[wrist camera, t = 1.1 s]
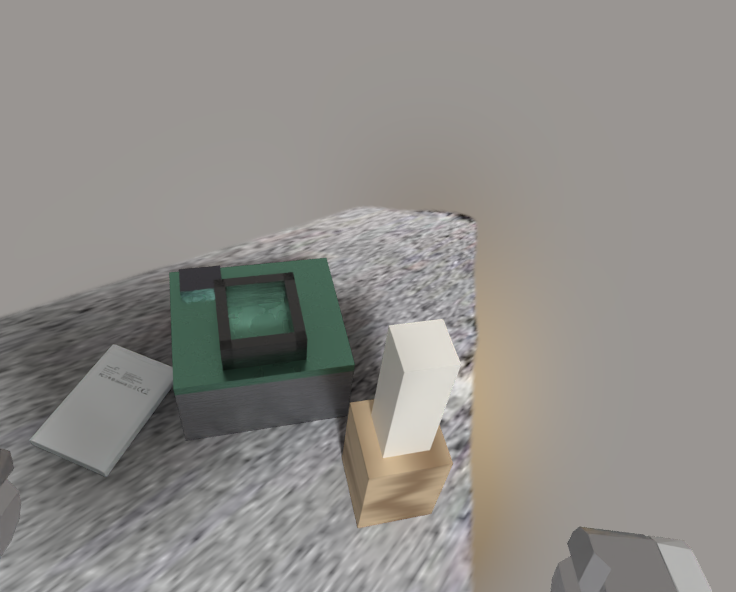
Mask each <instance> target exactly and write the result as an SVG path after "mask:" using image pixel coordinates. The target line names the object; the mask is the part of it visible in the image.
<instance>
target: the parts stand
mask: <svg viewBox="0 0 736 592" xmlns="http://www.w3.org/2000/svg"><path fill="white" fill-rule="evenodd" d="M373 404H374V399H372V400H365V401H358V402H352V403H350V407H349V413H348V420H347V427H346V434H345V441H344V448H343V454H342V460H343V465H344V469H345V474H346V478H347V483H348V487H349V491H350V496H351V500H352V505H353V509H354V514H355V518H356V523H357V527H358V528H362V527H367V526H372V525H377V524H382V523H387V522H392V521H397V520H402V519H407V518H412V517H417V516H422V515H427V514H431V513H432V511H433V508H434V506H435V504H436V501H437V499H438V497H439V495H440V492H441V490H442V488H443V485H444V483H445V481H446V478H447V476H448V474H449V472H450V469H451V467H452V465H453V462H452V460H451V457H450V454H449V451H448V448H447V445H446V442H445V439H444V437H443V434H442V431H441V428H440V425H439V426H438V429H437V432H436V435H435V437H434V440H433V443H432V446H431V448H430V450H427V451H422V452H416V453H410V454H404V455H398V456H393V457H387V458H383V457H382V453H381V450H380V446H379V442H378V439H377V435H376V431H375V428H374V424H373V420H372V416H371V414H372V409H373Z"/></svg>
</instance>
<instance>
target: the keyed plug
mask: <svg viewBox="0 0 736 592" xmlns="http://www.w3.org/2000/svg"><path fill="white" fill-rule="evenodd" d="M460 366H461V363H460V360H459V358H458V355H457V353H456V350H455V348H454V345H453V343H452V340H451V338H450V335H449V333H448V330H447V328H446V326H445V323H444V321H443V319H439V320H430V321H422V322H414V323H406V324H398V325H389V328H388V333H387V338H386V343H385V348H384V353H383V358H382V363H381V368H380V373H379V378H378V383H377V389H376V394H375V399H374V404H373V409H372V414H371V416H372V420H373V424H374V428H375V431H376V435H377V439H378V442H379V446H380V450H381V453H382V457H383V458H387V457H393V456H398V455H404V454H410V453H416V452H422V451H427V450H430V448H431V446H432V443H433V440H434V437H435V435H436V432H437V429H438V426H439V424H440V421H441V418H442V416H443V413H444V410H445V407H446V405H447V402H448V399H449V396H450V394H451V391H452V388H453V385H454V383H455V380H456V377H457V374H458V372H459V369H460Z"/></svg>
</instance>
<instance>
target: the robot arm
mask: <svg viewBox="0 0 736 592" xmlns="http://www.w3.org/2000/svg"><path fill="white" fill-rule="evenodd" d="M13 469H14V465H13V461H12V457H11V453H10V451H8V450H5V449H1V448H0V558H1V556H2V555H3V553H4V552H5V550H6V548H7V547H8V545H9V544H10V542H11V540H12V538H13V536H14V533H15V530H16V527H17V524H18V522H19V519H20V509H21V500H20V494H19V490H18V489H17V488H16V487H15V486H14V485H13V484H12V483H11V482H10V481H9V480H7V478H8V476H9V475H10V473H11V472H12V471H13ZM567 544H568V547H569V551H570V554H571V556H570V557H568V558H566V559H565V560H563V561H561V562H559V563H558V565H557V567H556V570H555V572H554V575H553V577H552V584H551V592H712V589H711V587H710V585H709V584H708V581H707V579H706V577H705V575H704V573H703V571H702V569H701V567H700V565H699V563H698V562H697V559H696V557H695V555H694V553H693V551H692V549H691V548H690V546H689V545H688V544H687V543H686V542H685V541H684V540H678V539H670V538H663V537H655V536H645V535H643V534H635V533H626V532H619V531H611V530H603V529H594V528H587V527H578V528H577V529H576V530H575V531H573V533H572V535H571V537H570V539H569V541H568V543H567Z"/></svg>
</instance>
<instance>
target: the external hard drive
mask: <svg viewBox="0 0 736 592" xmlns="http://www.w3.org/2000/svg"><path fill="white" fill-rule="evenodd" d="M172 387H173V367H171V366H169V365H166V364H164V363H161V362H159V361H156V360H153V359H151V358H148V357H146V356H143V355H141V354H138V353H136V352H133V351H131V350H128V349H126V348H123V347H120V346H118V345H114V344H113V345H112V346H111V347H110V348H109V349H108V350H107V352H106V353H105V354H104V355H103V356H102V357H101V358H100V360H99V361H98V362H97V363H96V364H95V365H94V366H93V368H92V369H91V370H90V371H89V372H88V373H87V374H86V375H85V377H84V378H83V379H82V380H81V381H80V382H79V383H78V385H77V386H76V387H75V388H74V389H73V390H72V392H71V393H70V394H69V395H68V396H67V397H66V398H65V400H64V401H63V402H62V403H61V404H60V405H59V406H58V407H57V409H56V410H55V411H54V412H53V413H52V414H51V416H50V417H49V418H48V419H47V420H46V421H45V422H44V424H43V425H42V426H41V427H40V428H39V429H38V431H37V432H36V433H35V434H34V435H33V436H32V437H31V439H30V440H29V441H30V442H31V444H32V445H34V446H36V447H39V448H41V449H43V450H46V451H48V452H50V453H53V454H55V455H57V456H59V457H62V458H64V459H66V460H68V461H71V462H73V463H75V464H78V465H80V466H82V467H84V468H87V469H89V470H91V471H94V472H96V473H98V474H100V475H103V476H105V477H107V476H108V474H109V473H110V472H111V470H112V469H113V467H114V466H115V465H116V463H117V462H118V461H119V459H120V458H121V456H122V455H123V454H124V452H125V451H126V450H127V448H128V447H129V445H130V444H131V443H132V441H133V440H134V439H135V437H136V436H137V434H138V433H139V432H140V430H141V429H142V428H143V426H144V425H145V424H146V422H147V421H148V419H149V418H150V417H151V415H152V414H153V413H154V411H155V410H156V408H157V407H158V406H159V404H160V403H161V402H162V400H163V399H164V398H165V396H166V395H167V393H168V392H169V391H170V389H171V388H172Z"/></svg>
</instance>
